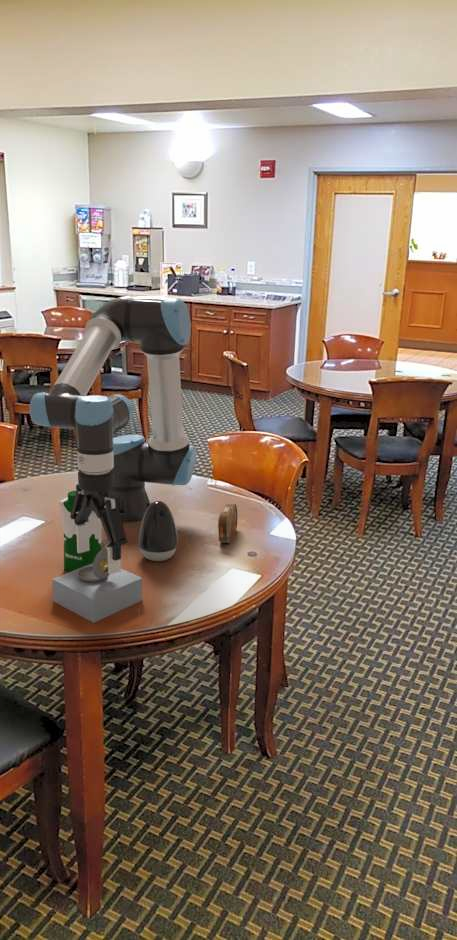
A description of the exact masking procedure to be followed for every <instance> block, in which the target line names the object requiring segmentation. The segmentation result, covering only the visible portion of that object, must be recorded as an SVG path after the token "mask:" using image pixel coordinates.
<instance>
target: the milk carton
mask: <svg viewBox="0 0 457 940" xmlns="http://www.w3.org/2000/svg"><path fill="white" fill-rule="evenodd" d="M75 495H76V490H71V491H69V492H68V493H67V497H65V498H63V499H61V500H59V501H58V503H59V507H60V512H61V515H62V536H63V570H64V571H68V572H71V571H74V570H76V569H79V568H82V567H84V566H87V565H89V564H92V563H93V562H94V559H95V557H96V555H97V554H98V553H99V552H100V551H101V550H103V549H102V548H103V547H101V546H100V543H101V542H102V541H103V539H102V538H103V534H102V522H101V520H100V518H98V517H97V515H96V513H95V512H94V511H92V512H91V514H90V516H89V518H88V521H89V522H85V523H88V524H89V548H90V551H86V552H82V553H78V552H77V531H76V524H75V522H74V519H71V517H70V515H71V511H72V507H73V503H74V499H75ZM76 513H78V512H76ZM85 523H84V524H85ZM102 543H103V542H102ZM101 545H102V544H101Z"/></svg>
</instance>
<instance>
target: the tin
mask: <svg viewBox="0 0 457 940" xmlns="http://www.w3.org/2000/svg"><path fill="white" fill-rule="evenodd" d="M217 521H218V522H217V527H218V540H219V541H218V542H220V543H221V544H231V542H232V541H233V538H234V537H235V534H236V532H237V529H238V508H237V505H236V503H231V504H230V503H227V504H225V506H224V507H223V509H222V510H221V512H220V514H219V516H218V520H217Z"/></svg>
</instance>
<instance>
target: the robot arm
mask: <svg viewBox="0 0 457 940" xmlns="http://www.w3.org/2000/svg"><path fill="white" fill-rule="evenodd" d="M191 330H192V322H191V317H190V313H189V309H188V306H187V305H186V303H185V302H184V301H183V300H182V299H180V298H176V297H169V296H145V295H144V296H140V295H139V296H137V295H124V296H119V297H117V298H114V299H112V300H110V301H108V302H107V303H105V304H104V305H102V306H100V307H99V308H98V309H97V310H96V311H95V312H94V313H93V314H92V315H91V316H90V318H89V319H88V321H87V322H86V324H85V327H84V333H85V334H84V336H83V337H82V338H81V340H80V341H79V343H78V345H77V346H76V348H75V349H74V352H73V353H72V354H71V356H70V357H69V359H68V361H67V363H66V365H65V366H64V368H63V369H62V370H61V373H60V374H59V375H58V378H57V379H56V381H55V383H54V385H53V386H52V387H51V389H50V390H49V392H46V391H43V392H36V393H35V394H33V396H32V398H31V399H30V403H29V416H30V418H31V421H32V423H34V425H37V426H39V427H40V426H42V427H47V428H58V429H73V430H74V429H75V431H76V432H75V433H76V451H77V452H76V453H77V455H76V456H77V457H76V462H77V469H78V470H79V471H77V484H76V486H75V491H76V495H75V499H74V503H73V507H72V511H71V515H70V517H71V519H74V522H75V524H76V531H77V552H78V553H82V552H86V551H90V548H89V524H88V523H85V522H89V521H88V518H89V516H90V514H91V512H92V511H94V512H95V513H96V515H97V517H98V518H100V520H101V526H102V528H103V531H104V533H105V535H106V539H108V544H107V545H106V547H107V548H108V574H110V575H111V574H114V573H117V572H121V569H122V546H124V545H127V544H128V539H127V536H126V531H125V527H124V524H123V523H129V522H136V521H142V519H143V516H144V513H145V511H146V509H147V508H148V506H149V505H150V504H151V502H150V499H149V495H148V493H147V490H146V486H145V485H146V484H145V483H149V484H158V485H159V484H160V485H170V486H172V487H174V486H186V485H188V484H189V483H190V482H191V480H192V478H193V474H194V471H195V466H196V460H197V451H198V450H197V448H196V446H194V445H192V444H191V445H190V438H189V436H188V435H187V434H186V433H184V423H183V419H184V418H183V405H182V403H183V402H182V384H181V368H180V367H181V366H180V364H181V362H180V354H181V353H182V352H183V351H184V350H185V345H187V344H188V343H189V342H190V339H191V337H192V335H191ZM122 342H134V343H135V342H136V343H139V346H140V347H139V348H140V351H141V353H143V354H144V355H145V356H146V361H147V362H146V363H147V375H148V388H149V401H150V414H151V415H150V416H151V417H150V418H151V428H152V430H151V431H152V435H151V436H150V437H149V438H148V440H147V441H146V439H145V436H144V435H140V434H126V435H125V434H124V435H119V436H116V437H114V435H115V433H117V432H119V431H120V430H123V429H125V428H126V427H127V426H128V425H129V423H130V422H131V421H132V419H133V417H134V414H135V413H134V412H135V410H134V405H133V403H132V402H131V400H130V399H129V398H128V397H126V396H125V395H122V394H119V393H118V394H110V395H108V396H105V395H92V394H91V395H88V393H89V391H90V389H91V388H92V385H93V384H94V382H95V380H96V378H97V376H98V375H99V373H100V372H101V370H102V368H103V366H104V364H105V362H106V360H107V359H108V357H109V355H110V354H111V352H112V350H114V349H117V348H118V347H119V346H120V344H121V343H122ZM76 512H78V513H76ZM84 523H85V524H84Z"/></svg>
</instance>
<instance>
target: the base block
mask: <svg viewBox="0 0 457 940" xmlns="http://www.w3.org/2000/svg"><path fill="white" fill-rule="evenodd" d="M102 564H103V563H102ZM91 566H93V563H92V564H89V565H87V566H84V567H82V568H79V569H76V570H74V571H68V572H66V573H64V574H62V575H59V576H57V577H53V578H52V579H51V581H52V599H53V600H52V601H53V602H54V603H55V604H57V605H60V606H61V607H63V608H65V609H67V610H69V611H71V612H73V613H75V614H76V615H78V616H80V617H81V618H84V619H86V620H88V621H89V622H90V623H97V622H98V621H101V620H103V619H104V618H107V617H109V616H112V615H113V614H116V613H118V612H120V611H122V610H125V609H126V608H129V607H131V606H133V605H135V604H138V603H139V602H142V601H143V577H141V576H139V575H136V574H135V573H132V572H130V571H128V570H125V569H122V568H121V572H117V573H114V574H111V575H109V576H108V577H106V578H105V579H103V580H100V581H95V582H88V581H83V580H81V579H80V578H79V577H78V572H79V570H81V569H83V568H86V567H91ZM104 567H107V565H105V566H104Z"/></svg>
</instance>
